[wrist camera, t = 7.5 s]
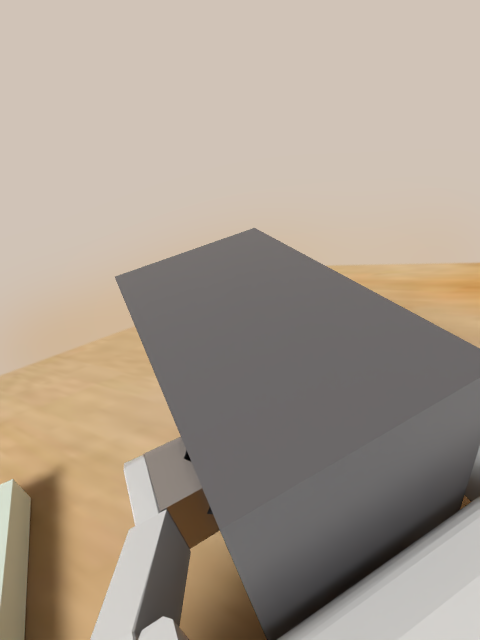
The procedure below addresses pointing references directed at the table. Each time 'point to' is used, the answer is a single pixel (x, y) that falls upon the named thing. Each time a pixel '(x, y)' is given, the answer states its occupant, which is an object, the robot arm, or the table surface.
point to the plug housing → (306, 414)
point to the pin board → (13, 559)
